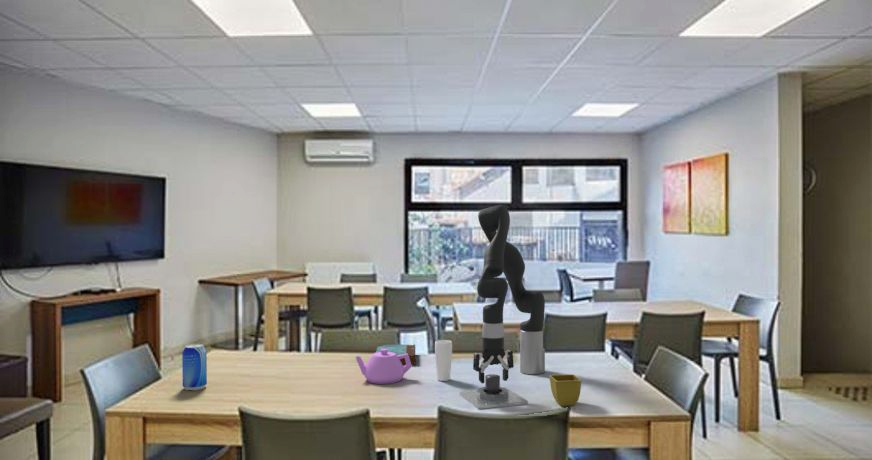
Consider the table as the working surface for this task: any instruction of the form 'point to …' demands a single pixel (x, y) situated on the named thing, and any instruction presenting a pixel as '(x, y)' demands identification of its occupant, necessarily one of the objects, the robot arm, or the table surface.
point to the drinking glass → (443, 359)
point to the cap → (492, 383)
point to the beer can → (194, 367)
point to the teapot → (384, 367)
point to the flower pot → (565, 389)
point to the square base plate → (492, 398)
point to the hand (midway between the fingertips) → (493, 381)
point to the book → (400, 351)
